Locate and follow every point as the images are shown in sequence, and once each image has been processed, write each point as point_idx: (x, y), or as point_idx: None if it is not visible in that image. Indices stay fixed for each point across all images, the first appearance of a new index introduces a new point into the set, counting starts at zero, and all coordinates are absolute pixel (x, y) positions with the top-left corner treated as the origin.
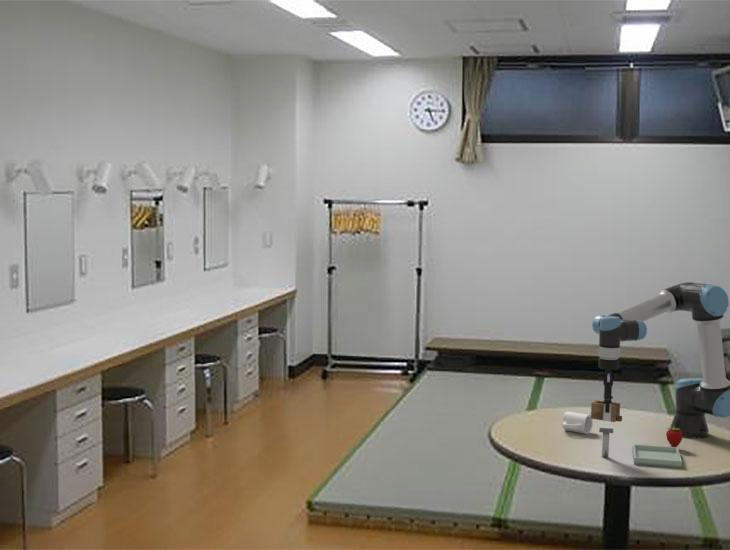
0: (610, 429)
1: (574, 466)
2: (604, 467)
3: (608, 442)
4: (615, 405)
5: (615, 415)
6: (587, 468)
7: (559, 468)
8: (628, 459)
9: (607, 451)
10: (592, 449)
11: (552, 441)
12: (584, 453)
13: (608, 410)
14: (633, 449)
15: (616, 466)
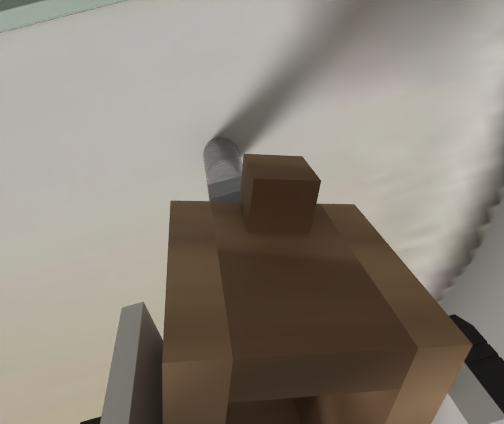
0: None
1: (432, 222)
2: (411, 107)
3: (238, 173)
4: (403, 360)
5: (359, 243)
6: (448, 170)
7: (473, 255)
8: (192, 20)
9: (236, 154)
10: (111, 245)
11: (101, 394)
12: None
13: (483, 345)
14: (78, 9)
15: (373, 54)
